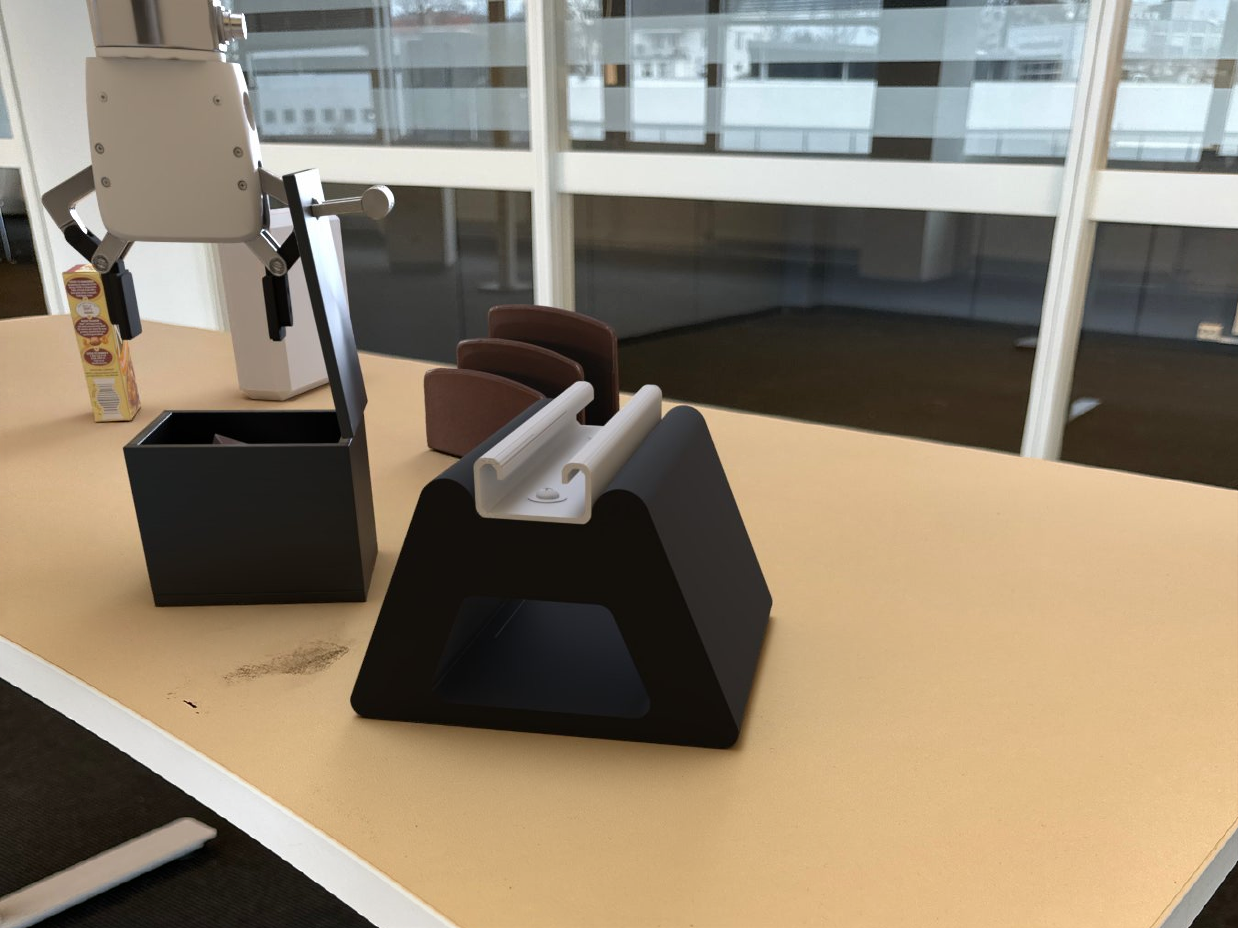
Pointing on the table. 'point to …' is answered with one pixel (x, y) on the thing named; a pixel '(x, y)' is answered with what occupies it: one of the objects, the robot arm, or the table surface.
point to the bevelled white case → (257, 357)
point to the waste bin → (253, 507)
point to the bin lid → (332, 284)
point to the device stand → (575, 585)
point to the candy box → (101, 347)
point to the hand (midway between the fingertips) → (205, 337)
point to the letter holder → (520, 374)
